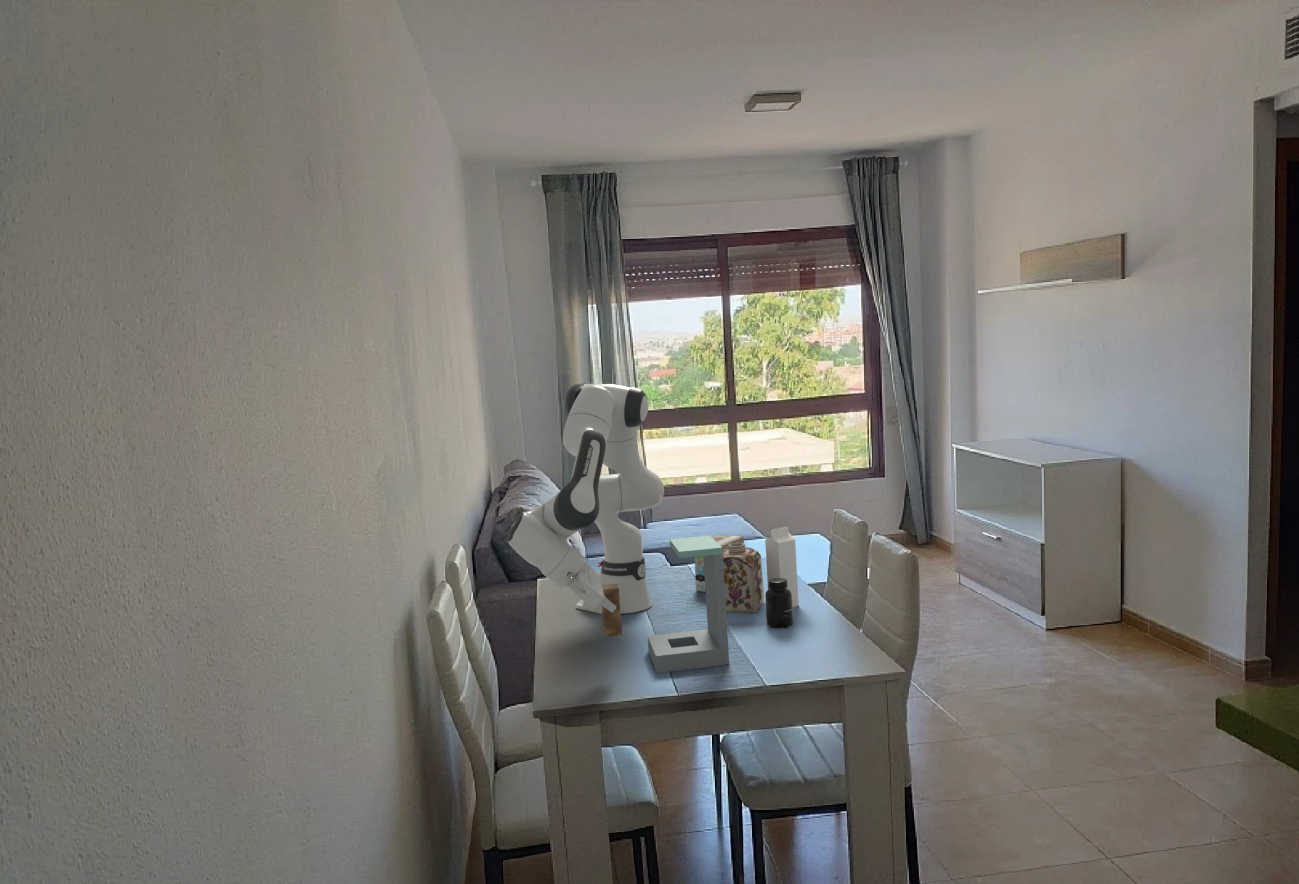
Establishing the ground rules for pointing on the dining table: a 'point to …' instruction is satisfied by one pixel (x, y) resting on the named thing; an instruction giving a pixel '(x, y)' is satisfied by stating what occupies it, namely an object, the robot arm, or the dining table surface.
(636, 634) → the dining table surface
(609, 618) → the walnut peg
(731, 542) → the tea box
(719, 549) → the socket stand
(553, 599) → the dining table surface
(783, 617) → the supplement bottle
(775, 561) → the milk
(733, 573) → the decorative jar
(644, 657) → the dining table surface
